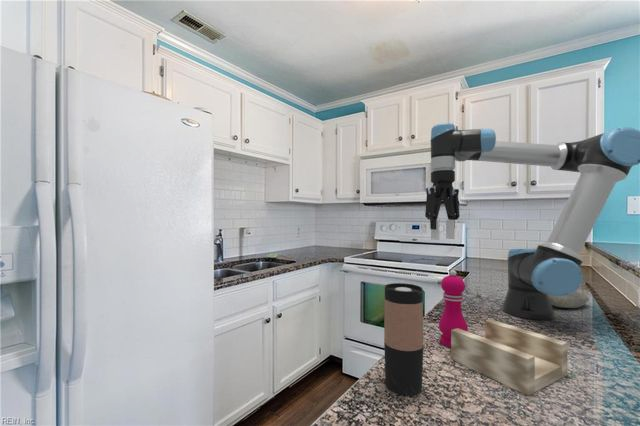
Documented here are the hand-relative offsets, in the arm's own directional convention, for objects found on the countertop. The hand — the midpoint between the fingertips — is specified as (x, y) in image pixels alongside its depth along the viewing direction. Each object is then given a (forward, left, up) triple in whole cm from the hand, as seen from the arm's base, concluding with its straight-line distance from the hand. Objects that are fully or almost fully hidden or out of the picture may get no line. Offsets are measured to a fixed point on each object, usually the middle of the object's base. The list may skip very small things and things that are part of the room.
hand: (442, 239), depth 101 cm
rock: (-56, -8, -27) cm, 63 cm away
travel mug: (+30, +35, -27) cm, 54 cm away
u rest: (+3, +31, -27) cm, 41 cm away
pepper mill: (+8, +18, -27) cm, 34 cm away
